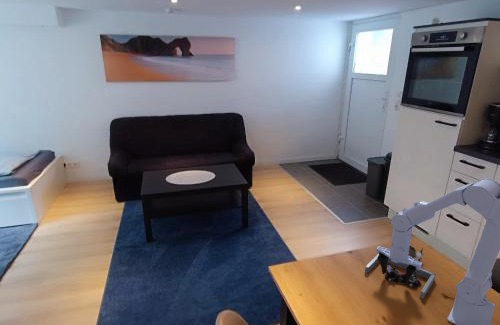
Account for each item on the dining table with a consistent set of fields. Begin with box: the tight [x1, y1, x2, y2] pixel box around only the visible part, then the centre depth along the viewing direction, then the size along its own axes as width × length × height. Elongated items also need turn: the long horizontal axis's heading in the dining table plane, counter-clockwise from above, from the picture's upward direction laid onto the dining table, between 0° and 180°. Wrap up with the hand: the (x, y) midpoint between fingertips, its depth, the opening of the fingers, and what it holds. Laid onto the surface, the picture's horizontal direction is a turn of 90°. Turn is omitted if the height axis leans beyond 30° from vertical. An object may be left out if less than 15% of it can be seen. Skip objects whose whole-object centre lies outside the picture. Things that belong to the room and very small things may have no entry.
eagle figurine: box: [408, 245, 424, 262], centre depth 121 cm, size 8×7×9 cm
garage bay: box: [364, 253, 436, 299], centre depth 111 cm, size 20×13×2 cm, turn 45°
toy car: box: [384, 263, 422, 288], centre depth 109 cm, size 6×12×4 cm, turn 63°
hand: (395, 277), depth 108 cm, fingers open, 7 cm apart
